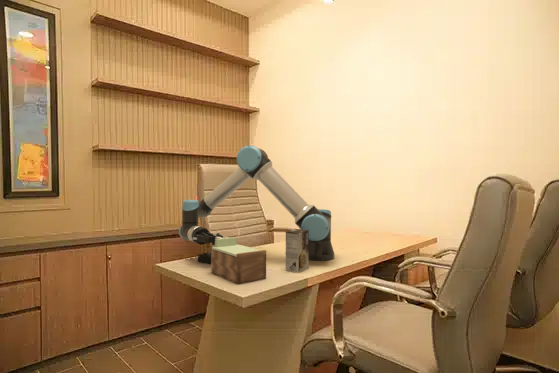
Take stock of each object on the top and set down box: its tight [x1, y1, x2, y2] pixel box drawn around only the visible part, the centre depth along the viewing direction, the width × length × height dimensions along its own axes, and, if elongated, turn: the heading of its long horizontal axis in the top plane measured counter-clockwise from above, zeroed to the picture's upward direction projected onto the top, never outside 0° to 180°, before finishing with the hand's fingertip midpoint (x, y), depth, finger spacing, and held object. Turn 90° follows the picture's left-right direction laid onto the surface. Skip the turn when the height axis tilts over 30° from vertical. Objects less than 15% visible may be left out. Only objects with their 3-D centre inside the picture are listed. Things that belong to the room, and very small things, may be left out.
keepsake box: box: [210, 249, 267, 285], centre depth 132 cm, size 20×12×10 cm, turn 39°
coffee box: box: [285, 228, 309, 273], centre depth 143 cm, size 9×6×16 cm
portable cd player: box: [197, 251, 211, 266], centre depth 157 cm, size 16×17×4 cm
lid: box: [211, 236, 261, 257], centre depth 132 cm, size 18×12×4 cm, turn 39°
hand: (224, 242), depth 140 cm, fingers closed
